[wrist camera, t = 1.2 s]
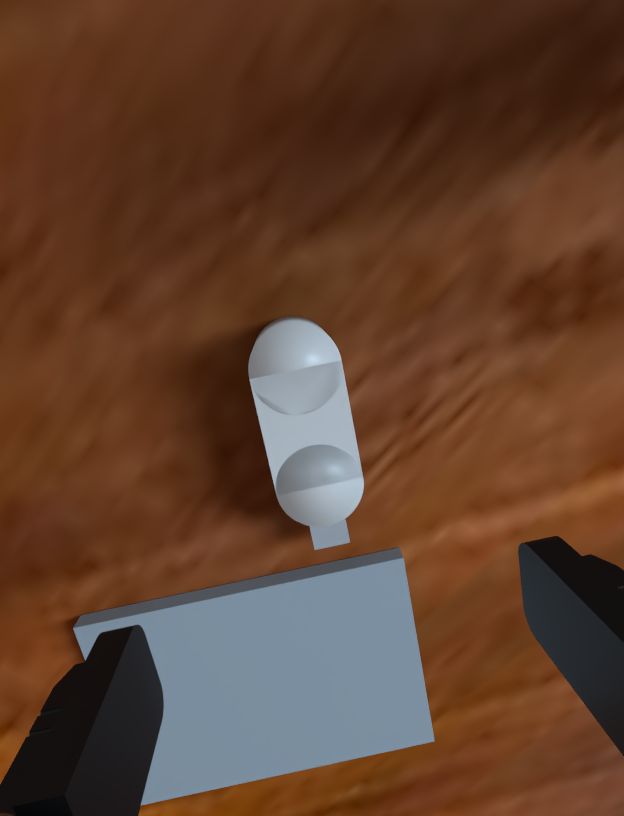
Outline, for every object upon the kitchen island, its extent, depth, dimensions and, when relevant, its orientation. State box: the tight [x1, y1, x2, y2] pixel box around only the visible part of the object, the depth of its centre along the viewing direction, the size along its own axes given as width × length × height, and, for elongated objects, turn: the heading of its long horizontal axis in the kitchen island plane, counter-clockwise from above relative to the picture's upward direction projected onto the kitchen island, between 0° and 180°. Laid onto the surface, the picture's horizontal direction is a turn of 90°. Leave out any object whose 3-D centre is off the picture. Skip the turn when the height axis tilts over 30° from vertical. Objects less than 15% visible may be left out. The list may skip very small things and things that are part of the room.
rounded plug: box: [248, 316, 364, 550], centre depth 27 cm, size 4×13×4 cm, turn 11°
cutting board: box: [73, 548, 434, 805], centre depth 32 cm, size 20×14×1 cm
